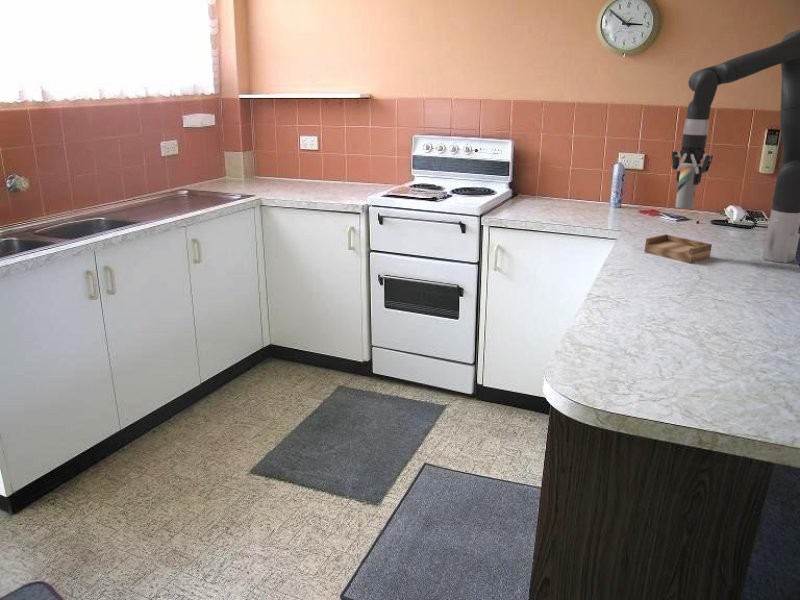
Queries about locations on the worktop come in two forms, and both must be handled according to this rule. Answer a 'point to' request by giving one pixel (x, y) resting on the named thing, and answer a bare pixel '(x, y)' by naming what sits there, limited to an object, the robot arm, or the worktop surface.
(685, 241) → the wooden serving tray
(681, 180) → the lotion bottle
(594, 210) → the worktop surface
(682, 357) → the worktop surface
